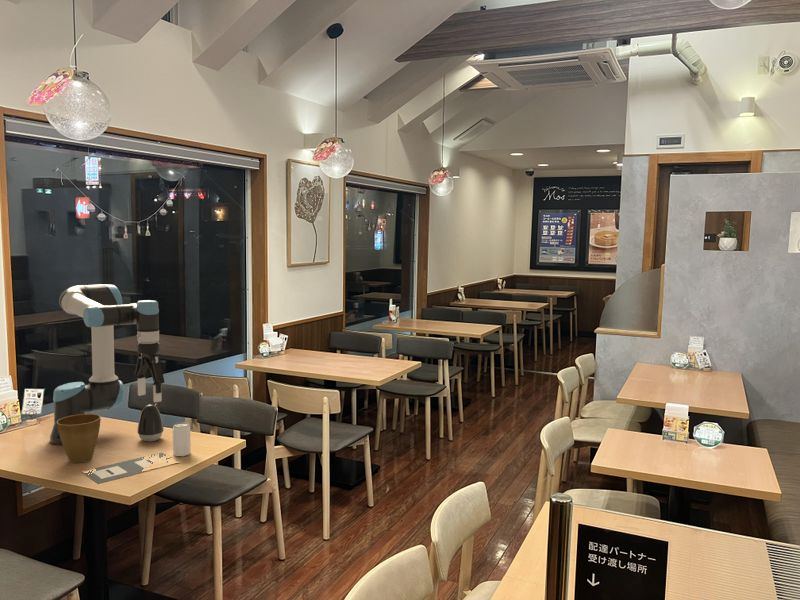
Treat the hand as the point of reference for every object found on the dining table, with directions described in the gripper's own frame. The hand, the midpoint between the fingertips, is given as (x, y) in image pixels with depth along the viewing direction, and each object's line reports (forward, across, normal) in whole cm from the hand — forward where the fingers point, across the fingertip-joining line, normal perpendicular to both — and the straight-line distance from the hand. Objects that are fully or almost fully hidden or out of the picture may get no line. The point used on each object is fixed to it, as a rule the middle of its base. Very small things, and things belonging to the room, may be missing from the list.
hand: (149, 398), depth 233 cm
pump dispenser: (+25, -27, +12) cm, 39 cm away
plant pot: (+25, -21, -18) cm, 37 cm away
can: (+25, -1, +13) cm, 28 cm away
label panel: (+25, 0, -7) cm, 26 cm away
